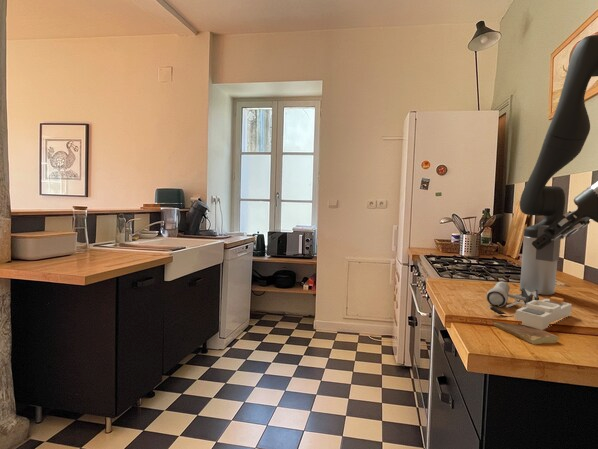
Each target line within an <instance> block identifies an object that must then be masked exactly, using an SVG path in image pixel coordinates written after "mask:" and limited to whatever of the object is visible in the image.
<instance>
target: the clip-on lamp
mask: <svg viewBox="0 0 598 449" xmlns="http://www.w3.org/2000/svg"><path fill="white" fill-rule="evenodd" d="M510 289H511V288H510V285H509V284H508V283H507V282H506V281H498V282H496V284H495V285H494V287H493V288H490V289H489V290H488V291H487V293H486V300H487V302H488V303H489V305H487V307H488V308H489V309H490V310H491V311H493V312H494V313H496V314H498V315H499V314H506V315H507V313H505V312H504V311H502V310H501V309H499V308H502V307H504V306H505V305H506V304H507V303H508V300H509V298H511V299H515V301H514V302H513V303H509V304H507V305H506V306H505V308H510V307H512V306H515V305H521V304H522V306H521V308H523V307H525V306H526V303H528V302H530V301H533V300H540V296H539V294H538V290H535V291H534V292H529V291H528V290H526V289H524V288H522V290H521V293H517V294H513V293H509V292H510ZM492 305H499V307H496V306H492ZM513 315H514V316H516V312H515V313H514V314H513Z"/></svg>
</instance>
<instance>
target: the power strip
mask: <svg viewBox="0 0 598 449" xmlns="http://www.w3.org/2000/svg"><path fill="white" fill-rule="evenodd" d="M572 305H573V304H572V303H569V302H565V301H564V298H562V297H556V296H551V297H549V298H544V299H541V300H540V299H539V300H533V301H530V302H528V303H526V305H525V306H524V307H523V308H522V307H521V308H518V309H516V310H515V313H516V315H515V319H517V320H519V321H522V324H521V326H525V327H530V328H535V329H539V330H544V331H545V330H546V329H547V328H549V327H550V326H549V324H550V323H551V322H554V321H556V320H559V319H561V318H563V317H566V316H569V315H571V314H572ZM571 316H572V315H571ZM569 317H570V316H569ZM515 319H514V320H515ZM548 326H549V327H548Z"/></svg>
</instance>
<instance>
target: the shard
mask: <svg viewBox="0 0 598 449" xmlns="http://www.w3.org/2000/svg"><path fill="white" fill-rule="evenodd" d="M492 322H493V326H494V327H496V328H498V329H501V330H503V331H505V332H507V333H509V334H511V335H514V336H515V337H517V338H520V339H522V340H523V341H525V342H527V343H529V344H532V345H538V344H556V343H557V342H558V341H559V339H560V337H559V336H558V335H555V334H553V333H550V332H548V331H546V330H545V329H544V330H540V329H536V328H533V327H529V326H525V325H520V324H511V323H507V322H506V323H505V322H499V321H495V320H492Z"/></svg>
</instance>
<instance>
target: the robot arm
mask: <svg viewBox="0 0 598 449" xmlns="http://www.w3.org/2000/svg"><path fill="white" fill-rule="evenodd" d="M593 77H595V78H596V77H598V34H593V35H592V34H591V35H588V36H585V37H583V38H582V39H581V40H580V41H579V42H578V43H577V44H576V46H575V48H574V50H573V52H572V55H571V57H570V60H569V63H568V67H567V70H566V75H565V78H564V82H563V85H562V88H561V92H560V96H559V99H558V103H557V106H556V108H555V110H554V114H553V117H552V118H551V122H550V124H549V126H548V129H547V131H546V134H545V137H544V139H543V143H542V145H541V149H540V152H539V154H538V157H537V160H536V162H535V165H534V167H533V169H532V172H531V174H530V176H529V177H528V180H527V182H526V184H525V186H524V189H523V191H522V193H521V195H520V200H519V209H520V211H521V212H522V214H524V215H527V216H543V218H542V220H541V221H540V222H538V223H535V224H531V225H529V226H526V227H525V228H524V230H523V242H522V243H523V244H522V255H521V269H520V271H521V272H520V281H519V290H521V291H522V288H524V289H526V290H528V291H529V292H534V291H535V290H538V295H546V296H547V295H549V296H550V295H554V294H555V290H556V279H557V278H556V277H557V270H558V269H557V267H558V261H554V262H551V261H544V260H537V259H536V249H537V250H539V249H541V248H543V247H544V246H546V245H547V244H548V243H550V242H551V241H553V240H556V238H558V237H559V236H561V240H564V239H565V238H568V237H570V236H571V235H573V234H575V233H576V232H578V231H579V230H581V229H583V228H585V227H586V226H588V225H590V223H591V221H590V220H592V221H593V222H595V223H598V180H596V181H595V182H594V183H593V184H591V185H590V186H588V187H587V188H586V189H585V190H583V191H582V192H581V193H579V194H578V195H577V196H575V197H574V199H573V203H574V205H576V206H577V209H575V210H573V211H570V210H569V211H568V212H566V213H564V212H565V206H566V193H565V190H564V189H563V188H562V187H560V186H556V185H555V186H553V185H552V186H551V185H547V184H548V182H549V181H550V179H552V177H554V176H555V175H556V174H557V173H558V172H559V171H561V170H562V169H563V168H565V167H566V166H567V165H569V163H571V162H572V161H573V160H574V159H575V158H577V157H578V155H580V153H581V151H582V150H583V148H584V145H585V143H586V141H587V138H588V136H589V134H590V130H591V121H590V117H589V114H588V110H587V107H586V102H585V96H586V93H587V88H588V85H589V83H590V81H591V79H592V78H593ZM544 225H546V226H549V227H547V228H546V229H545V230H544V231H543V232H544V234H543V235H541V236H540V237H539V238H537V235H538V226H544ZM553 229H554V230H555V231H556V233H555V234H554V233H553V232H552V230H553Z"/></svg>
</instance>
